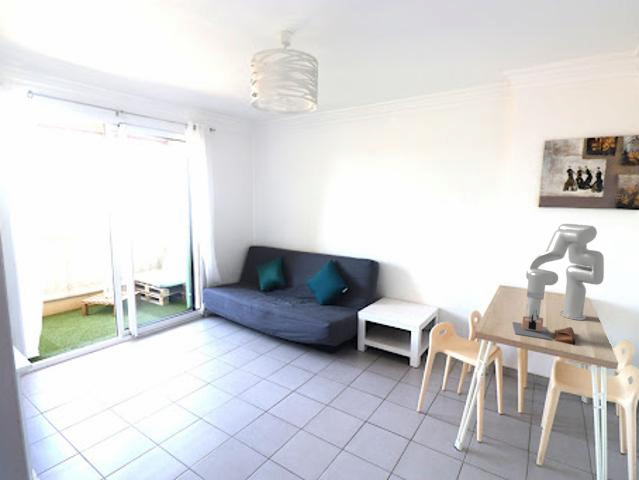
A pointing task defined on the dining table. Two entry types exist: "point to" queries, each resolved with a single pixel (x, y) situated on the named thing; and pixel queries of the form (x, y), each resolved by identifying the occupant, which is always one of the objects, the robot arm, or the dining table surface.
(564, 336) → the sunglasses case
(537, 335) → the mat
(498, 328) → the dining table surface
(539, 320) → the slab
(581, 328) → the dining table surface
